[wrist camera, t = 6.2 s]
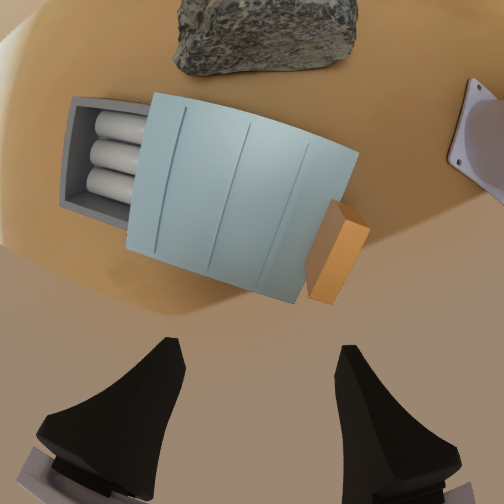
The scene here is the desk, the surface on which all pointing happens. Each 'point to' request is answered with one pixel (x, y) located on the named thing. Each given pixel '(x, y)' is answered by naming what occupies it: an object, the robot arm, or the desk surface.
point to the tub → (102, 157)
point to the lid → (244, 200)
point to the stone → (263, 34)
